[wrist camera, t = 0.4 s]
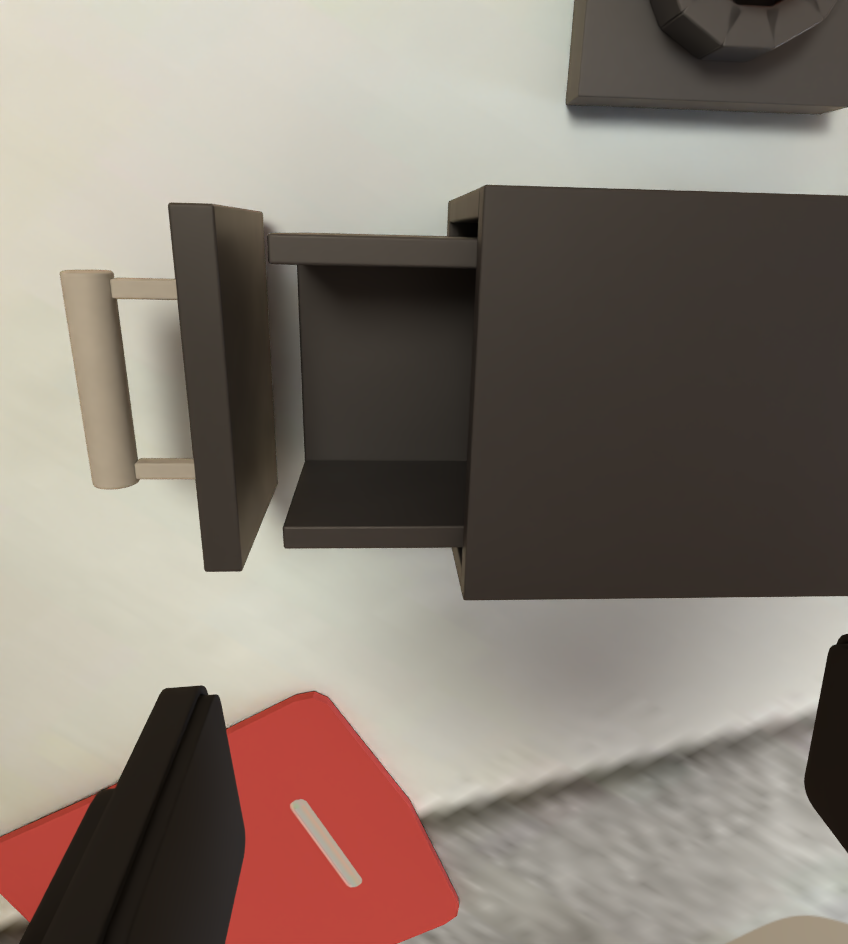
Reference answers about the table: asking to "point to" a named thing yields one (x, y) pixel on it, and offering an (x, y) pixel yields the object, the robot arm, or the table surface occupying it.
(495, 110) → the table surface
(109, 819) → the robot arm
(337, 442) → the drawer
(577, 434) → the cabinet
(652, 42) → the control block
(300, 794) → the desk lamp
